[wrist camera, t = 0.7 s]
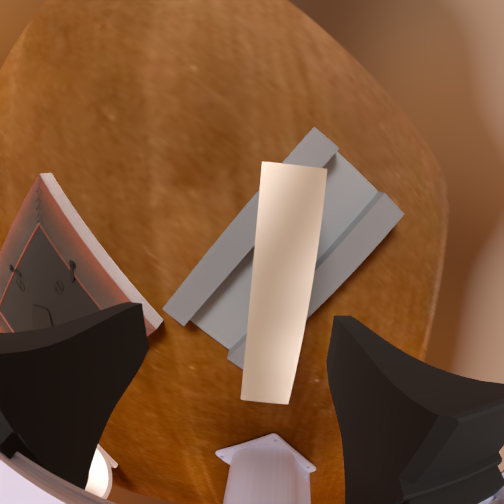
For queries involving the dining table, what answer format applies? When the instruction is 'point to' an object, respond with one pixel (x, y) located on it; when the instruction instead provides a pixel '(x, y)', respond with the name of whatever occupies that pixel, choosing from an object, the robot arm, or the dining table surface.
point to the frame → (281, 277)
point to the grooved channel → (328, 255)
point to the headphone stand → (100, 473)
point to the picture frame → (58, 267)
